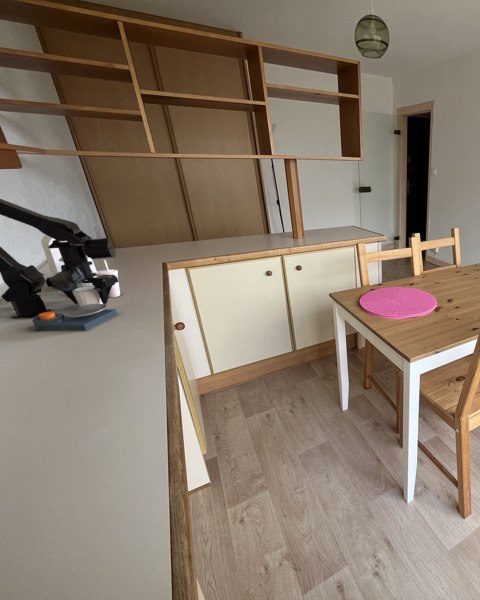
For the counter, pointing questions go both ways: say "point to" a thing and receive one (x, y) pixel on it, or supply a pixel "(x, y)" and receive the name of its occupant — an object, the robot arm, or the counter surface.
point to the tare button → (46, 315)
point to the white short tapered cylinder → (87, 296)
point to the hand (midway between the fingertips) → (91, 303)
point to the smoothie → (115, 288)
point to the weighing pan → (84, 310)
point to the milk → (56, 256)
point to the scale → (74, 321)
